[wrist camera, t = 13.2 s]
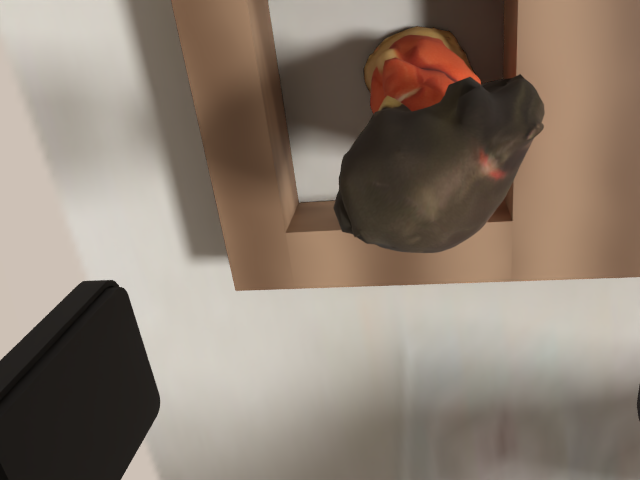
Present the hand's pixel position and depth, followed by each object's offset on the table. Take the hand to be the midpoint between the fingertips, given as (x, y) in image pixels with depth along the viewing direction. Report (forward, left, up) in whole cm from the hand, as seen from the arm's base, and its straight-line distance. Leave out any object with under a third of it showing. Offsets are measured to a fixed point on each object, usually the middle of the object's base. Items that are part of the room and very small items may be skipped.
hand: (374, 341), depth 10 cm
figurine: (-1, 0, -18) cm, 18 cm away
